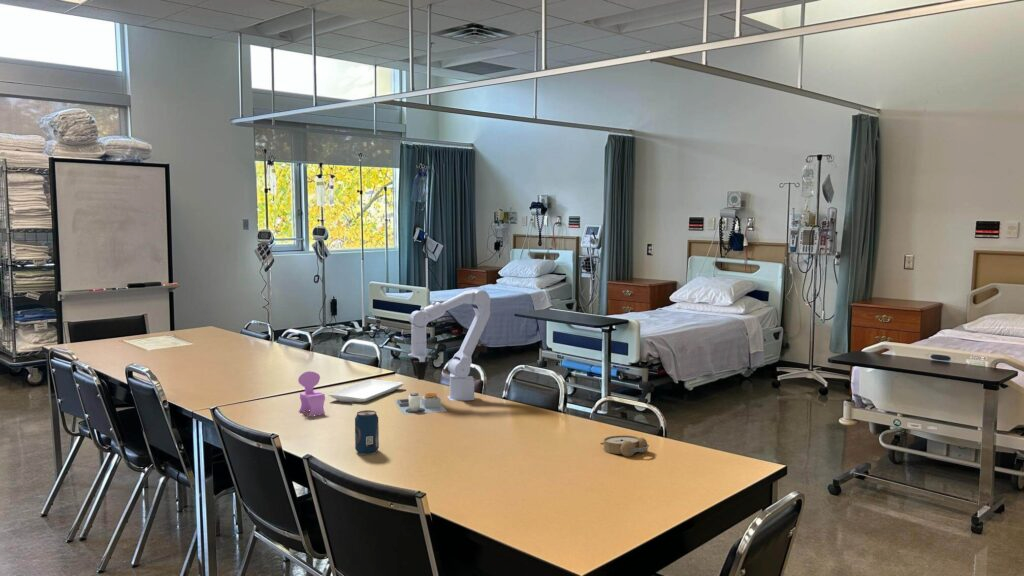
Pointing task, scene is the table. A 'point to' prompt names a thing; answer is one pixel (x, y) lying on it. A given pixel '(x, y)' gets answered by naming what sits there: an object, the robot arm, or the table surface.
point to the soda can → (366, 432)
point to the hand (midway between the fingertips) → (419, 377)
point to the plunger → (430, 396)
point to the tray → (365, 390)
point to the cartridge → (414, 402)
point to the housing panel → (422, 405)
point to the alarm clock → (625, 445)
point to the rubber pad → (415, 411)
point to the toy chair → (311, 394)
